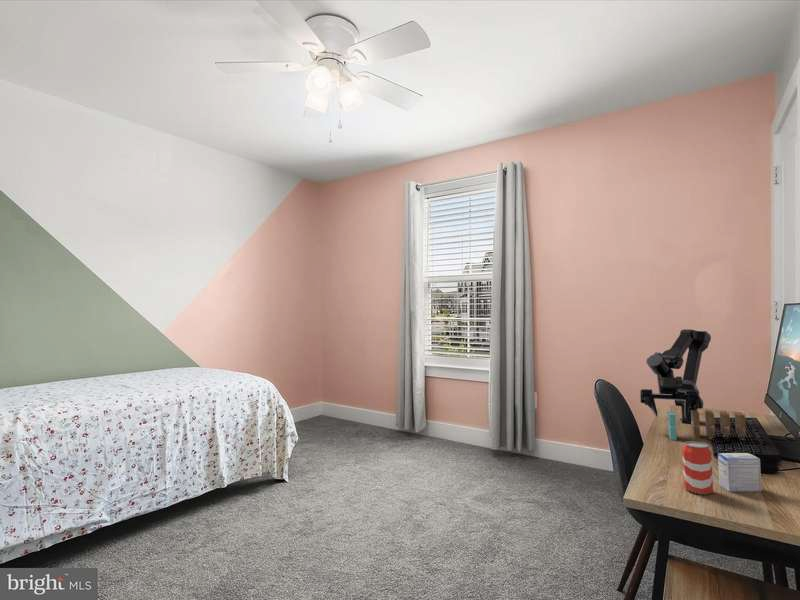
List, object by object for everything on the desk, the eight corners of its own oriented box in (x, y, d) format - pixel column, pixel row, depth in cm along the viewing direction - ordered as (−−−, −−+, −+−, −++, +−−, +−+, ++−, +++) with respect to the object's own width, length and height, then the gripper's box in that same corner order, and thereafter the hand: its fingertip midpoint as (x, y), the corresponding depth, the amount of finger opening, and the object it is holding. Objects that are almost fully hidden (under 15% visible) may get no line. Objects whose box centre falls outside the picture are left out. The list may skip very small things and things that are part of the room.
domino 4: (739, 441, 160) (738, 415, 160) (736, 437, 165) (734, 412, 165) (746, 441, 159) (744, 415, 160) (742, 437, 164) (740, 412, 164)
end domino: (670, 439, 164) (669, 414, 164) (668, 436, 169) (667, 411, 169) (676, 440, 163) (675, 414, 164) (674, 436, 168) (673, 411, 168)
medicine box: (750, 485, 121) (748, 452, 121) (762, 492, 117) (760, 458, 117) (718, 485, 122) (717, 452, 122) (729, 492, 117) (727, 458, 118)
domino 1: (694, 437, 166) (693, 412, 166) (691, 434, 170) (690, 409, 170) (700, 438, 165) (699, 413, 165) (697, 434, 169) (696, 410, 170)
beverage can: (688, 494, 117) (686, 447, 117) (681, 485, 123) (679, 440, 123) (716, 496, 115) (714, 448, 115) (707, 487, 121) (705, 441, 121)
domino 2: (709, 438, 164) (707, 413, 164) (706, 435, 168) (705, 410, 169) (715, 439, 163) (714, 413, 163) (712, 435, 168) (711, 410, 168)
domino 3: (724, 440, 162) (723, 414, 162) (720, 436, 166) (719, 411, 167) (730, 440, 161) (729, 414, 161) (727, 436, 166) (725, 411, 166)
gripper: (639, 367, 175) (642, 402, 165) (696, 369, 168) (704, 405, 157) (638, 385, 182) (642, 419, 172) (694, 387, 175) (700, 423, 164)
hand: (671, 416), depth 166 cm, fingers open, 9 cm apart
